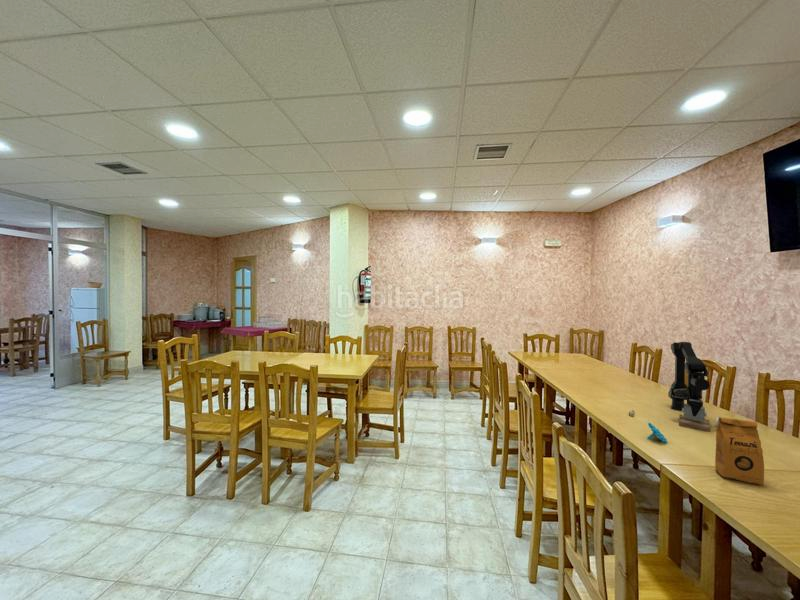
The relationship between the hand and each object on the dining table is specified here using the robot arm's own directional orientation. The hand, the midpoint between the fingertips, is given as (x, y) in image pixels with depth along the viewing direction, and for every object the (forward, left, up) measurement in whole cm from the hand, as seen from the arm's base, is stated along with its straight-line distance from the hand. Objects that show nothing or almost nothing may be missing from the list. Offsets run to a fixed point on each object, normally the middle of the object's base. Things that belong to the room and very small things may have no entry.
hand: (694, 414), depth 177 cm
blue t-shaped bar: (+36, -13, -6) cm, 38 cm away
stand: (0, 0, -5) cm, 5 cm away
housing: (0, 0, -2) cm, 2 cm away
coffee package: (+56, +12, -6) cm, 58 cm away
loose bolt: (+3, -26, -5) cm, 27 cm away
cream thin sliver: (-3, +11, -5) cm, 13 cm away
